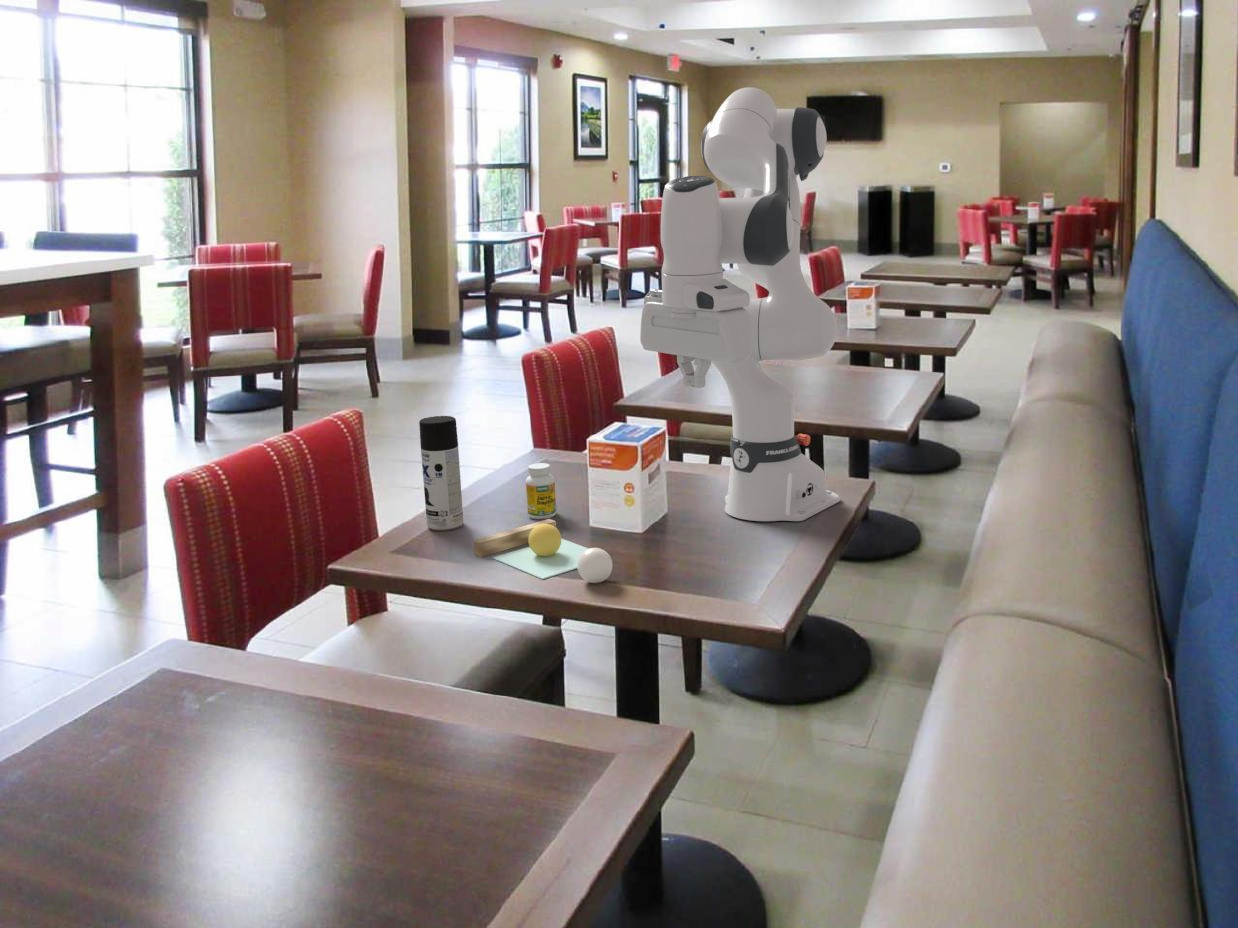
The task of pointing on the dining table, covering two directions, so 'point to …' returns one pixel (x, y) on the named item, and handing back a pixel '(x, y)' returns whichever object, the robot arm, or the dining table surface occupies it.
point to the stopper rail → (506, 539)
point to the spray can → (441, 473)
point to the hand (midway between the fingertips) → (694, 386)
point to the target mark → (544, 560)
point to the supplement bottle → (540, 492)
